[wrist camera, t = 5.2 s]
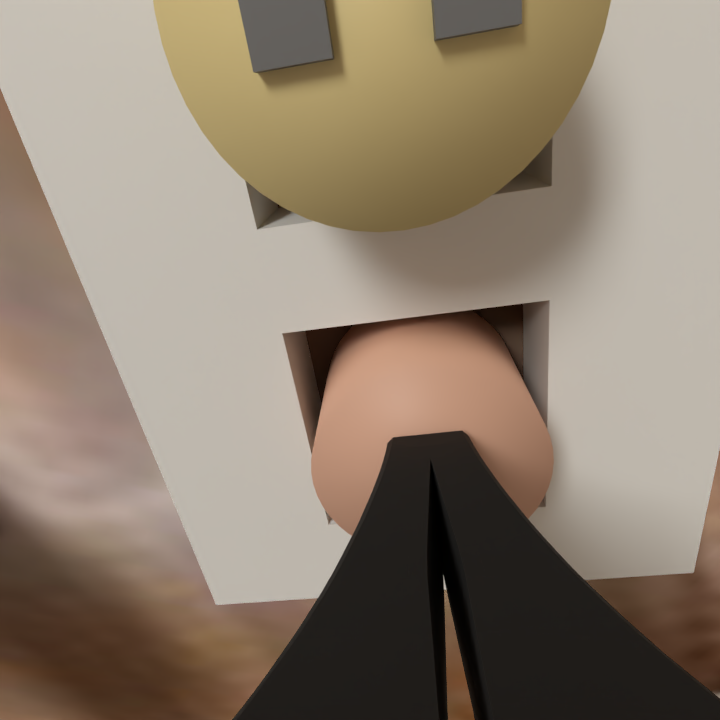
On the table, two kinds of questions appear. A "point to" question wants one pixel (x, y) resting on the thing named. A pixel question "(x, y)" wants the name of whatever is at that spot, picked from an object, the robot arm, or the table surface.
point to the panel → (394, 289)
